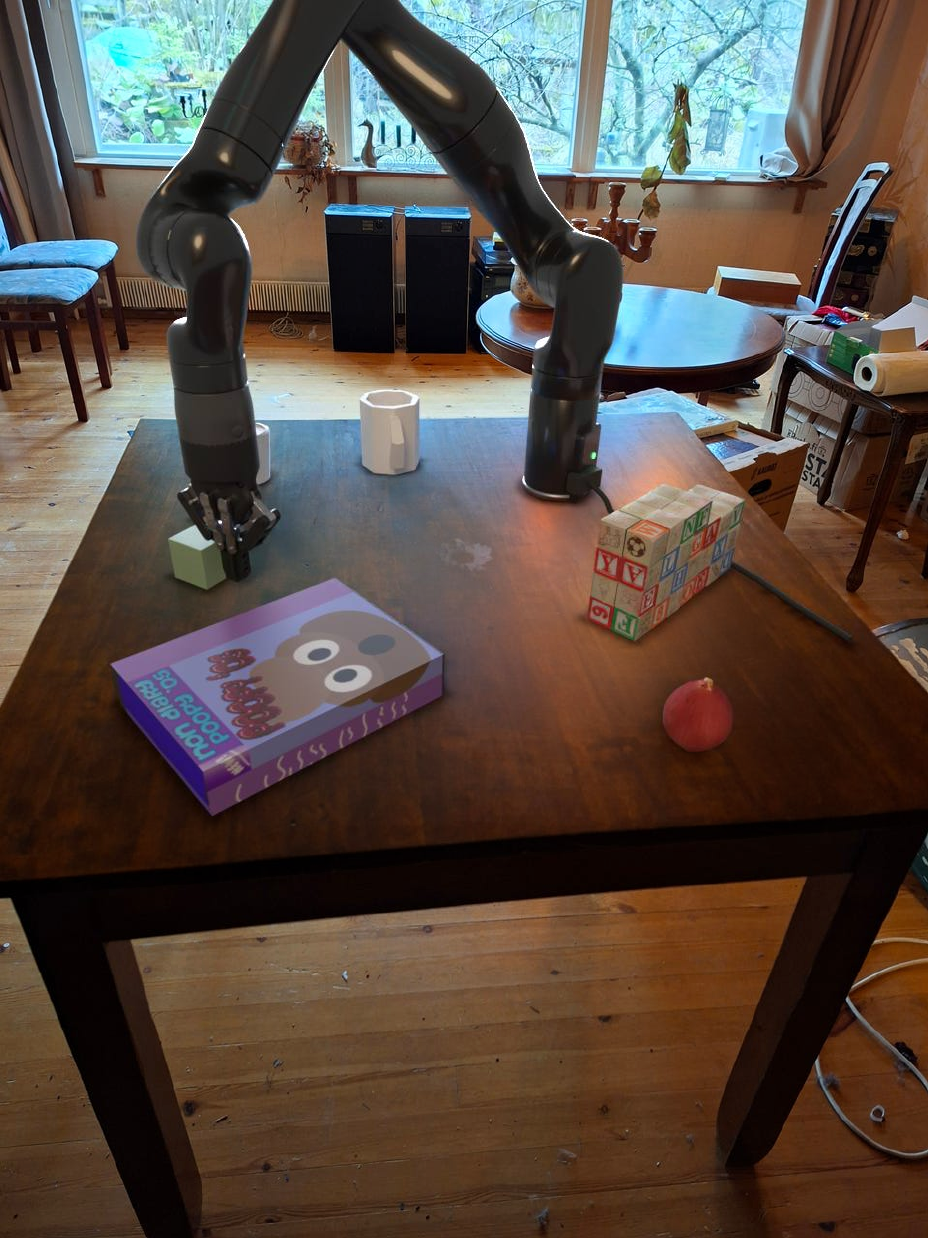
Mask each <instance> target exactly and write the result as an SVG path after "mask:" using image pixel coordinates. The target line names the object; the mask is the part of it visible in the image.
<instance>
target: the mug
mask: <svg viewBox="0 0 928 1238" xmlns="http://www.w3.org/2000/svg"><path fill="white" fill-rule="evenodd" d="M359 418H360V444H361V447H360V448H361V465H362V466H363V467H365V468H366V469H367V470H368V471H370V472H372V473H373V474H382V475H394V476H396V475H401V474H404V473H408V472H413V471H415V470H416V469H417V467H418V465H419V463H420V396H418V395H416V394H414V393H411V392H410V391H407V390H401V389H400V390H399V389H379V390H372V391H367V392H365V393H363V395H362V396H361V397H360V399H359Z"/></svg>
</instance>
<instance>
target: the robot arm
mask: <svg viewBox="0 0 928 1238" xmlns="http://www.w3.org/2000/svg"><path fill="white" fill-rule="evenodd" d="M340 41H341V42H342V43H343V45H344V46H346V48H348V50H349V51H350V52H351V53H352V54H353V55H354V56H355V57H356V59H357V60H358V61H359V62H360V63H361V64H362V66H363V67H364V68H365V69H366V70H367V71H368V73H369V74H370V75H371V77H373V79H374V80H375V82H376V83H377V85H379V87H380V88H381V89H382V91H383V92H384V93H385V95H386V96H387V97H388V98H389V100H390V101H391V102H392V104H393V105H394V106H395V107H396V109H397V110H398V111H399V113H401V115H402V116H403V118H404V119H405V120H406V121H407V122H408V124H409V125H410V126H411V127H412V129H413V130H414V131H415V133H416V134H417V135H418V137H419V139H420V140H421V141H422V143H423V144H424V146H425V147H426V148H427V150H428V151H429V153H431V155H432V156H433V157H434V158H435V160H436V161H437V163H438V164H439V165H440V167H441V168H442V169H443V170H444V172H445V173H446V175H447V176H448V177H449V178H450V179H451V181H452V182H453V183H454V184H455V185H456V186H457V188H458V189H459V190H460V191H461V193H462V194H463V195H464V196H465V197H466V199H467V200H468V201H469V202H470V204H472V206H473V207H474V208H475V209H476V211H477V212H478V213H479V214H480V216H481V217H482V218H484V219H485V221H486V222H487V223H488V224H489V225H490V227H492V229H493V230H494V231H495V232H496V234H497V235H498V236H499V238H500V239H501V240H502V242H503V244H504V245H505V247H506V248H507V250H508V252H509V254H510V255H511V257H512V258H513V260H514V262H515V264H516V265H517V267H518V269H519V271H520V272H521V274H522V276H524V279H525V281H526V282H527V283H528V284H527V285H528V286H529V287H530V288H531V290H532V292H533V293H534V294H535V296H537V298H538V299H539V300H540V301H542V302H543V303H544V304H546V305H548V306H549V307H552V308H554V310H553V317H552V324H551V330H550V334H549V336H548V337H543V338H541V339H540V340H538V341H537V342H536V343H535V345H534V347H533V354H532V367H531V379H530V390H529V391H530V392H529V402H528V403H529V405H528V417H527V418H528V419H527V429H526V430H527V431H526V443H525V454H524V455H525V456H524V457H525V458H524V470H523V477H522V489H523V490H524V491H525V492H526V493H527V494H528V495H530V496H532V497H534V498H537V499H539V500H543V501H548V502H557V503H560V502H561V503H562V502H563V503H564V502H569V503H572V504H573V503H574V504H577V503H579V502H580V501H581V500H583V498H585V497H586V496H587V495H588V494H589V493H590V492H591V491H593V492H595V493H596V495H598V497H599V498H600V499H601V500H602V502H603V504H604V507H605V508H606V511H607V512H608V515H609V514H611V513H613V512H615V511H616V510H614V508H613V506H612V504H611V501H610V499H609V497H608V495H606V493H605V492H604V491H603V490H602V489H601V488H600V487H601V483H602V478H603V477H602V476H603V468H601V467H598V466H597V465H598V455H599V448H600V441H601V433H602V424H601V423H598V413H599V405H600V397H601V392H602V391H601V390H602V382H603V373H604V366H605V360H606V357H608V356H607V355H608V354H609V352H610V350H611V348H612V347H613V346H612V345H613V342H614V338H615V333H616V328H617V322H618V316H619V310H620V306H621V299H622V292H623V284H624V264H623V259H622V257H621V254H620V252H619V250H618V249H617V247H616V246H615V245H614V243H612V242H610V241H609V240H607V239H604V238H602V237H599V236H596V235H593V234H589V233H587V232H586V233H585V232H582V231H580V230H578V229H577V228H575V227H573V226H572V225H571V224H570V223H569V221H568V220H567V219H566V218H565V217H564V215H562V213H561V212H560V211H559V210H558V209H557V207H556V205H554V203H553V201H551V199H550V198H549V197H548V195H547V194H546V192H545V191H544V189H543V187H542V185H541V184H540V181H539V179H538V175H537V172H536V170H535V165H534V160H533V156H532V153H531V149H530V145H529V142H528V139H527V135H526V133H525V130H524V128H523V126H522V124H521V123H520V121H519V119H518V117H517V116H516V114H515V113H514V111H513V109H512V108H511V106H510V104H509V103H508V101H507V100H506V98H505V97H504V96H503V94H502V93H501V91H500V90H499V88H498V87H497V86H496V85H497V84H495V82H494V80H492V78H491V77H490V76H489V74H488V73H487V72H486V71H485V70H484V68H483V67H481V66H480V65H479V64H478V63H477V62H476V61H475V60H473V59H472V58H471V57H470V56H469V55H467V54H466V53H465V52H463V51H462V50H461V49H459V48H458V47H457V46H455V45H453V44H452V43H451V42H449V41H448V40H447V39H445V38H443V37H442V36H440V35H439V34H437V33H436V32H434V31H433V30H431V29H430V28H429V27H428V26H426V25H425V24H423V23H422V22H421V21H420V20H418V19H417V18H416V17H415V15H413V14H412V13H411V12H410V11H409V9H408V8H406V7H405V6H404V5H403V3H402V2H401V1H400V0H272V1H271V2H270V4H269V6H268V8H267V9H266V11H265V13H264V15H263V16H262V18H261V19H260V20H259V22H258V24H257V25H256V27H255V28H254V30H253V31H252V33H251V34H250V36H249V37H248V39H247V40H246V41H245V43H244V44H243V46H242V47H241V49H240V50H239V52H238V53H237V55H236V56H235V57H234V60H233V61H232V63H231V64H230V66H229V68H228V69H227V71H226V72H225V74H224V76H223V78H222V79H221V81H220V83H219V84H218V87H217V89H216V91H215V93H214V95H213V97H212V99H211V101H210V104H209V105H208V107H207V110H206V112H205V115H204V117H203V119H202V121H201V124H200V125H199V128H198V131H197V132H196V135H195V137H194V139H193V143H192V145H191V146H190V148H189V149H188V151H187V152H186V153H185V154H184V156H182V158H181V159H180V160H179V161H178V162H177V163H176V164H175V165H174V167H173V168H172V169H171V170H170V171H169V172H168V174H167V176H166V177H165V178H164V179H163V180H162V182H161V183H160V185H159V186H158V187H157V189H156V190H155V191H154V192H153V194H152V195H151V197H150V198H149V200H148V201H147V202H146V204H145V206H144V208H143V210H142V212H141V214H140V217H139V220H138V223H137V227H136V232H135V252H136V256H137V259H138V262H139V265H140V267H141V268H142V270H143V271H144V273H145V274H146V275H147V276H148V277H149V278H151V279H152V280H153V281H155V282H156V283H158V284H160V285H162V286H165V287H168V288H172V289H176V290H181V291H184V292H185V294H186V309H185V310H186V312H185V317H182V318H179V319H176V320H175V321H174V322H173V323H171V324H170V325H169V327H168V328H167V331H166V347H167V355H168V361H169V367H170V373H171V379H172V384H173V406H174V407H173V408H174V415H175V421H176V426H177V433H178V439H179V447H180V451H181V459H182V463H183V464H182V465H183V469H184V473H185V475H186V476H187V477H188V478H189V479H190V483H191V486H190V487H189V488H188V487H187V488H184V489H183V490H181V491H179V492H177V493H176V498H177V500H178V501H179V503H180V505H181V506H182V507H183V509H184V510H185V512H186V513H187V516H188V517H189V518H190V520H191V521H192V523H193V525H196V527H197V528H198V530H199V531H200V533H201V534H202V536H203V537H204V539H205V540H207V541H210V540H213V541H214V542H215V545H216V547H217V548H218V549H219V550H220V552H221V559H222V566H223V570H224V572H225V574H226V580H227V579H228V580H229V581H230V580H231V581H232V582H235V583H240V582H241V581H244V580H245V579H246V578H248V577H249V575H250V574H251V571H252V568H251V567H252V566H251V559H250V551H252V550H254V549H256V548H258V547H259V546H261V545H262V544H263V543H264V542H265V540H266V539H267V538H268V536H269V535H270V534H271V532H272V531H273V529H275V527H276V525H277V524H278V523H279V521H280V520H281V518H282V515H281V512H280V510H279V509H277V508H273V509H269V508H268V507H267V506H266V504H264V502H263V501H262V496H263V495H262V491H261V489H260V487H259V484H257V482H256V477H257V474H258V471H259V468H260V461H259V452H258V443H257V434H256V425H255V423H256V417H255V408H254V401H253V397H252V393H251V390H250V385H249V377H248V368H247V360H246V352H245V346H244V335H245V330H246V325H247V319H248V309H249V303H250V302H249V301H250V294H251V288H252V278H253V263H252V262H253V261H252V256H251V255H252V254H251V252H250V247H249V244H248V241H247V239H246V236H245V234H244V233H243V231H242V229H241V227H240V226H239V225H238V223H236V222H235V221H234V220H233V218H231V217H230V215H231V214H232V213H233V212H234V211H236V210H239V209H242V208H246V207H250V206H253V205H255V204H258V203H259V202H260V200H261V199H262V198H263V197H264V195H265V194H266V193H267V190H268V188H269V186H270V184H271V182H272V179H273V177H274V175H275V173H276V172H277V169H278V166H279V164H280V162H281V160H282V157H283V155H284V153H285V151H286V148H287V146H288V144H289V142H290V139H291V137H292V135H293V133H294V130H295V129H296V126H297V124H298V121H299V120H300V117H301V115H302V113H303V110H304V109H305V107H306V105H307V102H308V100H309V99H310V96H311V94H312V92H313V90H314V88H316V87H315V86H316V84H317V82H318V81H319V79H320V77H321V75H322V73H323V71H324V69H325V68H326V66H327V64H328V61H329V60H330V58H331V56H332V55H333V53H334V51H335V50H336V48H337V46H338V45H339V43H340ZM204 517H206V520H207V524H206V522H205V521H204V519H203V518H204ZM730 568H731V569H734V570H735V571H737V572H739V573H740V574H742V575H744V576H746V577H747V578H749V579H751V580H752V581H754V582H755V583H757V584H759V586H761V587H763V588H765V589H766V590H768V591H769V592H770V593H772V594H773V595H775V596H776V597H778V598H779V599H780V600H782V601H784V603H785V604H787V605H789V606H790V607H792V608H793V609H795V610H797V611H798V612H800V613H801V614H802V615H804V616H806V617H807V618H809V619H810V620H812V621H813V622H815V623H816V624H818V625H820V626H822V627H823V628H825V629H826V630H828V631H829V632H831V633H832V634H834V635H835V636H837V637H839V638H840V639H842V640H844V641H845V642H847V643H851V642H852V641H853V639H854V636H852V635H851V634H849V633H848V632H846V631H844V630H843V629H841V628H840V627H838V626H837V625H834V624H833V623H831V622H830V621H828V620H827V619H825V618H824V617H822V616H820V615H818V614H817V613H815V612H813V611H812V610H811V609H809V608H807V607H806V606H804V605H803V604H801V603H799V602H798V601H796V600H795V599H793V598H792V597H790V596H789V595H788V594H786V593H785V592H783V590H780V588H777V587H776V586H775V585H773V584H772V583H770V582H768V581H767V580H766V579H764V578H763V577H761V576H760V575H757V574H756V573H754V572H753V571H751V570H749V569H747V568H746V567H744V566H743V565H741V564H739V563H738V562H736V561H733V560H732V563H731V567H730Z"/></svg>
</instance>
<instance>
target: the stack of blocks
mask: <svg viewBox="0 0 928 1238" xmlns="http://www.w3.org/2000/svg"><path fill="white" fill-rule="evenodd" d="M745 504H746V499H745V498H743V497H739V496H736V495H733V494H730V493H727V492H725V491H720V490H717V489H714V488H711V487H708V486H705V485H701V484H699V483H697V484H696V485H695V486H693V487H691V488H690V489H688V490H685V489H684V490H683V489H680V488H677V487H675V486H672V485H670V484H667V483H661V484H660V485H658V486H656V487H654V488H652V489H651V490H650V491H648V492H646V493H645V494H643V495H641V496H640V497H638V498H636V499H635V500H634V501H631V502H629V503H628V504H626V505H625V506H623V507H621V508H619V509H618V510H614V511H615V512H613V513H611V514H609V513H608V515H606V516H604V517H602V518H601V519H600V523H599V531H598V536H597V546H596V547H595V548H596V549H595V553H594V554H595V556H594V562H593V573H592V583H591V589H590V590H591V591H590V596H589V601H588V610H587V615H586V617H587V618H586V619H587V620H588V621H591V622H593V623H595V624H597V625H599V626H601V627H604V628H606V629H607V630H611V631H613V632H614V633H616V634H618V635H621V636H623V637H625V638H627V639H629V640H630V641H633V642H636V641H637V640H639V639H640V638H642V637H643V636H644V635H646V634H647V633H648V632H650V630H653V629H655V628H656V627H657V626H658V625H659V624H661V623H662V622H663V621H665V620H666V619H667V618H669V617H670V616H671V615H673V614H674V613H676V612H677V611H678V610H679V609H680V607H682V606H683V605H684V604H686V603H687V602H688V601H690V600H691V599H692V598H693V597H694V596H695V595H696V594H698V593H699V592H701V591H702V590H704V588H706V587H709V586H710V585H711V584H712V583H714V582H715V581H716V580H717V579H719V578H720V577H721V576H723V575H724V574H725V573H726V572H728V571H729V570H730V569H731V568H732V567H731V563H732V561H733V559H734V555H735V554H734V553H735V550H736V546H737V543H738V538H739V534H740V529H741V525H742V524H741V520H742V517H743V511H744V508H745Z"/></svg>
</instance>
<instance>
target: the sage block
mask: <svg viewBox="0 0 928 1238" xmlns="http://www.w3.org/2000/svg"><path fill="white" fill-rule="evenodd" d="M167 542H168V547H169V553H170V557H171V558H170V559H171V563H172V568H173V574H174V578H176V579H178V580H181V581H183V582H186V583H188V584H191V585H193V586H196V587H199V588H201V589H204V590H207V591H208V590H210V589H211V588H213V587H215V586H216V585H218V584H219V583H222V582H223V581H224V580H227V578H226V574H225V572H224V570H223V566H222V559H221V552H220V550H219V549H218V548H217V547H216V545H215V542H214V541H213V540H210V541H207V540H205V539H204V537H203V536H202V534H201V533H200V531H199V530H198V528H197V527H196V525H195V524H193V525H192V526H190V527H187V528H186V529H184V530H182V531H180V532H178V533H177V534H175V535H172V536H171V537H169V538H168V539H167Z"/></svg>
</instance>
